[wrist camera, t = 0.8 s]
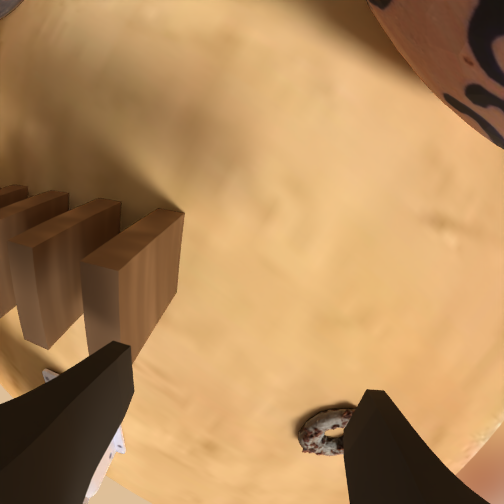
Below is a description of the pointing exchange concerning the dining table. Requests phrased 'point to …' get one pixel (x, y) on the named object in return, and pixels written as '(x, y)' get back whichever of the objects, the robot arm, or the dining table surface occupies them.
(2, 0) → the tin
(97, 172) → the dining table surface
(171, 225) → the domino
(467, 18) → the ceramic pitcher
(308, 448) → the donut
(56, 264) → the domino
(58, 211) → the domino
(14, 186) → the domino
